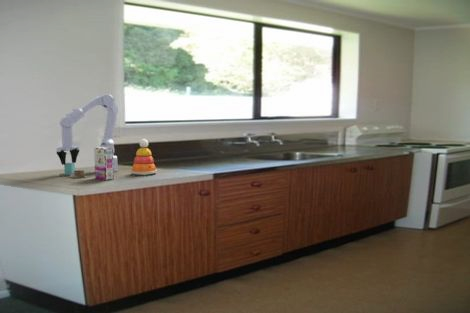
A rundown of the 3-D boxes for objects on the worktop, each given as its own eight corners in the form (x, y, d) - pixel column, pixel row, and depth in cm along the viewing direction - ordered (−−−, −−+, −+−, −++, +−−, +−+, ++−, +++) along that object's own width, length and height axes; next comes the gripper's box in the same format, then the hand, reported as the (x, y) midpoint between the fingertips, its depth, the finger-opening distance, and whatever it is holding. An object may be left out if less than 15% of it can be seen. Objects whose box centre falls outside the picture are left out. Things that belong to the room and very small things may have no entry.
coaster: (77, 173, 274) (77, 172, 274) (78, 175, 265) (78, 174, 265) (60, 174, 271) (60, 173, 271) (60, 176, 262) (60, 175, 262)
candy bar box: (114, 179, 251) (113, 147, 249) (105, 180, 247) (104, 148, 246) (103, 177, 259) (102, 146, 257) (94, 178, 255) (93, 147, 253)
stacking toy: (145, 176, 259) (144, 140, 257) (125, 174, 266) (124, 139, 264) (162, 173, 272) (161, 138, 269) (142, 171, 279) (141, 137, 276)
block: (74, 173, 270) (74, 162, 269) (71, 174, 266) (71, 163, 265) (68, 173, 270) (67, 162, 269) (64, 174, 266) (64, 163, 265)
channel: (84, 175, 264) (83, 170, 264) (84, 177, 258) (84, 172, 258) (74, 176, 263) (74, 170, 262) (74, 178, 256) (74, 172, 256)
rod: (82, 177, 261) (82, 172, 261) (82, 177, 259) (81, 173, 259) (71, 177, 261) (71, 172, 260) (70, 178, 258) (70, 173, 258)
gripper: (62, 140, 257) (64, 165, 259) (82, 138, 270) (83, 162, 272) (53, 139, 260) (54, 165, 262) (73, 137, 273) (74, 161, 275)
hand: (68, 163), depth 267 cm, fingers open, 7 cm apart
